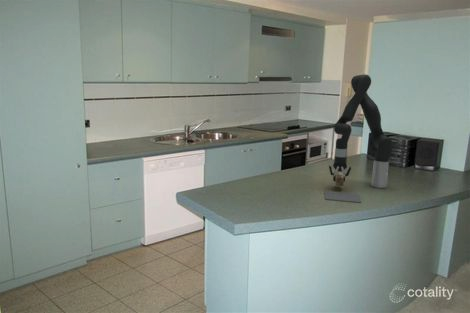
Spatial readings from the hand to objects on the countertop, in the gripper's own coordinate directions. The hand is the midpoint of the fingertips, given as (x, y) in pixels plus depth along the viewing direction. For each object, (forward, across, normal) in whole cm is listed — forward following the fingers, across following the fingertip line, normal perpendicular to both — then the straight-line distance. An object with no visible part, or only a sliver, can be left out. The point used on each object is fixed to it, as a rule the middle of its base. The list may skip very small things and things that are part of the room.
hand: (338, 181), depth 254 cm
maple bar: (+1, 0, 0) cm, 1 cm away
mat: (+5, -1, +18) cm, 18 cm away
